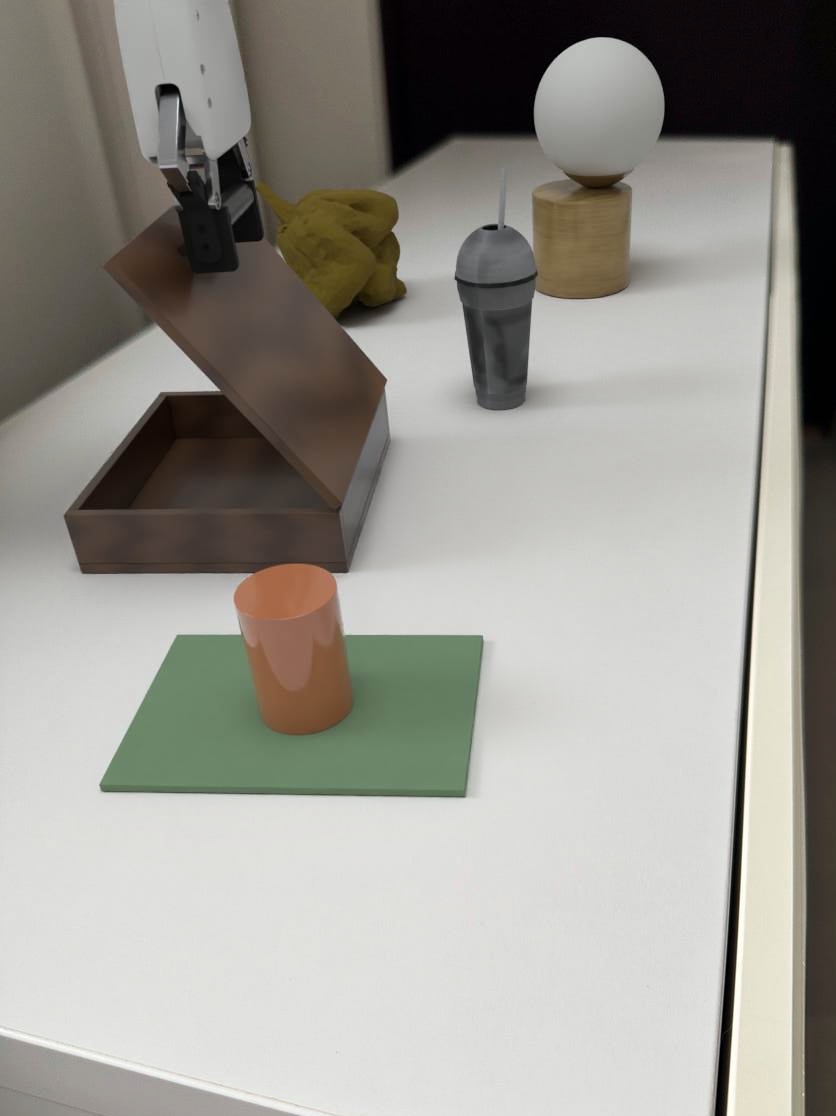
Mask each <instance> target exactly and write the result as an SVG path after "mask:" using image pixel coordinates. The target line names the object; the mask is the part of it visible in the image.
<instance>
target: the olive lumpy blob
mask: <svg viewBox="0 0 836 1116" xmlns="http://www.w3.org/2000/svg"><path fill="white" fill-rule="evenodd" d="M255 188H256V192H258V194H260V196H261V197H262V198H263V199H264V200H265V202H266V203H267V205H268V206H269V208H270V209H271V211H272V212H273V214H274V215H275V216H276V218H277V220H278V221H279V222H280V224H279V225H278V226H276V227H275V228H276V230H277V233H278V234H277V235H276V244H277V246H278V249H279V251H280V253H281V255H282V256H281V257H282V258H283V259H284V261H285V262H286V263H287V264H288V265H289V266H290V268H291V269H292V270H293V271H294V272H295V273H296V274H297V276H298V277H299V278H300V279H301V280H302V281H303V283H304V284H305V285H306V286H307V287H308V288H309V290H310V291H311V292H312V293H313V294H314V295H315V296H316V298H317V299H318V300H319V301H320V302H321V303H322V305H323V306H324V307H325V308H326V309H327V310H328V312H329V313H330V314H331V315H332V316H333V317H334V318H335V320H336V321H337V319H338V318H339V316H340V315H341V313H342V311H343V310H344V309H346V308H348V307H349V306H350V305H351V304H352V301H353V300H354V301H355V302H361V303H362V304H363V305H365V307H373V308H375V307H378V306H381V305H385V304H386V303H390V302H392V301H393V300H396V299H399V298H402V297H404V296H406V294H408V293H407V289H408V288H407V286H406V284H405V282H404V281H402V280H401V279H400V278H398V270H399V269H398V264H399V261H400V258H401V246H400V245H401V244H400V242H399V240H398V238H397V236H396V234H395V231H392V230H393V229H394V227H395V226H396V225H397V223H398V221H399V219H400V218H399V217H400V212H399V205H398V202H397V200H396V199H395V197H394V196H391V195H389V194H387V193H384V192H382V191H380V190H379V191H378V190H376V189H375V190H374V189H369V188H362V189H349V188H341V189H339V188H338V189H330V188H322V189H321V188H320V189H315V190H311V191H308V192H307V193H306V194H305V195H304V196H302V197H300V198H299V199H298V200H297V202H296V203H295V204H294V203H292V202H289V201H287V200H286V199H284V198H282V197H281V196H280V195H278V194H277V193H275V192H274V191H273V190H272V189H271V188H270V187H269V186H267V184H266V183H265V182H264V181H263V180H262V181H261V182H259V183H258V184H257V185H255Z"/></svg>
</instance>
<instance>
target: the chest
mask: <svg viewBox="0 0 836 1116" xmlns="http://www.w3.org/2000/svg"><path fill="white" fill-rule="evenodd" d="M386 393H387V392H386V387H385V388H384V391H383V394H382V397H381V399H380V402H379V405H378V407H377V410H376V413H375V416H374V418H373V421H372V424H371V427H370V429H369V432H368V435H367V438H366V440H365V443H364V446H363V448H362V451H361V454H360V457H359V459H358V462H357V465H356V468H355V470H354V473H353V476H352V479H351V481H350V484H349V487H348V489H347V492H346V495H345V498H344V500H343V503H342V504H341V505H340V506H339V507H337V508H336V509H333V508H332V507H331V506H330V505H329V503H328V502H327V501H326V500H325V499H324V498H323V497H322V496H321V495H320V494H319V493H318V492H317V491H316V490H315V489H314V488H313V487H312V486H311V485H310V484H309V483H308V482H307V481H306V479H305V478H304V477H303V476H302V475H301V474H300V473H299V472H298V471H297V470H296V469H295V468H294V467H293V466H292V465H291V464H290V463H289V462H288V461H287V460H286V459H285V458H284V457H283V455H282V454H281V453H280V452H279V451H278V450H277V449H276V448H275V447H274V446H273V445H272V444H271V443H270V442H269V441H268V440H267V439H266V438H265V437H264V436H263V435H262V434H261V433H260V431H259V430H258V429H257V428H256V427H255V426H254V425H253V424H252V423H251V422H250V421H249V420H248V419H247V418H246V417H245V416H244V415H243V414H242V413H241V412H240V411H239V410H238V409H237V407H236V406H235V405H234V404H233V403H232V402H231V401H230V400H229V399H228V398H227V397H226V396H225V395H224V394H223V393H222V392H221V391H220V390H203V391H202V390H201V391H199V390H198V391H197V390H196V391H192V390H191V391H161V392H159V394H158V395H157V397H156V398H155V399H154V400H153V401H152V403H151V404H150V405H149V407H148V408H147V409H146V410H145V412H144V413H143V414H142V416H141V417H140V418H139V419H138V420H137V422H136V423H135V424H134V425H133V426H132V428H131V429H130V431H129V432H128V433H127V434H126V436H125V437H124V438H123V439H122V441H121V442H120V443H119V444H118V446H117V447H116V448H115V450H114V451H113V452H112V453H111V455H110V456H109V457H108V458H107V459H106V461H104V464H102V466H101V467H100V468H99V470H98V471H97V472H96V474H95V475H94V476H93V477H92V478H91V479H90V481H89V482H88V483H87V485H86V486H85V487H84V489H83V490H82V491H81V492H80V494H78V496H77V497H76V499H75V500H74V501H73V503H71V504H70V506H69V507H68V509H67V510H66V511H65V512H64V514H63V520H64V522H65V526H66V528H67V532H68V534H69V539H70V541H71V544H72V547H73V550H74V553H75V557H76V559H77V560H76V561H77V562H78V566H79V570H80V572H81V574H170V573H171V574H173V573H174V574H183V573H185V574H187V573H190V574H193V573H194V574H196V573H202V574H203V573H204V574H205V573H206V574H207V573H208V574H209V573H211V574H214V573H217V574H218V573H220V574H222V573H224V574H225V573H227V574H228V573H231V574H232V573H257V572H259V571H261V570H264V569H266V568H270V567H273V566H278V565H283V564H309V565H314V566H318V567H320V568H323V569H325V570H327V571H328V572H330V573H348V572H349V569H350V566H351V564H352V560H353V557H354V554H355V551H356V548H357V545H358V542H359V539H360V535H361V532H362V530H363V526H364V524H365V519H366V517H367V514H368V510H369V507H370V504H371V501H372V498H373V495H374V493H375V489H376V486H377V482H378V479H379V477H380V473H381V471H382V467H383V464H384V461H385V459H386V454H387V451H388V449H389V445H390V443H391V432H390V431H391V430H390V422H389V421H390V420H389V411H388V404H387V402H388V401H387V394H386Z"/></svg>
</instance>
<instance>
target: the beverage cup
mask: <svg viewBox="0 0 836 1116" xmlns="http://www.w3.org/2000/svg"><path fill="white" fill-rule="evenodd" d="M508 169H509V167H507V166H501V173H500V174H501V175H500V186H499V188H500V189H499V190H500V191H499V205H498V220H497V223H487V224H485V225H481V226H480V227H478V228H476V229H475V230H473V231H472V232H471V233H470V234H469V235H468V236H467V237H466V238H465V239H464V240H463V242H462V244H461V246H460V247H459V250H458V253H457V256H456V263H455V270H454V281H456V288H457V293H458V297H459V300H460V301H459V302H461V305H462V312H463V318H464V320H463V321H464V327H465V333H466V339H467V347H468V355H469V361H470V368H471V374H472V376H471V377H472V382H473V388H474V391H475V396H476V403H477V404H478V406H480V407H482V408H484V409H488V410H493V411H494V410H495V411H501V410H502V411H503V410H504V411H505V410H511V409H515V408H518V407H519V406H521V405H523V404H524V403H525V401H526V393H527V392H526V391H527V385H528V376H529V375H528V374H529V373H528V372H529V357H530V343H531V342H530V341H531V327H532V326H531V325H532V309H533V299H534V298H535V291H536V288H535V286H536V277H537V276H538V272H537V268H536V265H535V258H534V254H533V248H532V246H531V245H530V243H529V241H528V240H527V238H526V237H525V236H524V235H523V234H522V233H521V232H519V231H518V230H517V229H515V228H514V227H513V226H510V225H506V224H505V215H506V200H507V184H508Z"/></svg>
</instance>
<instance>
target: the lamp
mask: <svg viewBox="0 0 836 1116" xmlns="http://www.w3.org/2000/svg"><path fill="white" fill-rule="evenodd" d="M663 89H664V88H663V86H662V81H661V79H660V76H659V74H658V72H657V70H656V69H655V67H654V65H653V63H652V62H651V61H650V60H649V59H648V57H647V56H646V55H645V54H644V53H643V52H642V51H641V50H639V49H638V48H637V47H635V46H634V45H632V44H631V43H629V42H626V41H623V40H621V39H618V38H613V37H601V36H600V37H591V38H587V39H584V40H581V41H578V42H576V43H574V44H572V45H571V46H569V47H567V48H566V49H565V50H564V51H562V52H561V53H560V54H559V55H557V57H555V58H554V59H553V61H552V62H551V63H550V64H549V65H548V67H547V69H546V71H545V72H544V74H543V76H542V78H541V80H540V82H539V84H538V87H537V89H536V94H535V98H534V99H535V100H534V106H533V121H534V128H535V129H534V130H535V133H536V137H537V140H538V142H539V145H540V147H541V149H542V151H543V152H544V154H545V156H546V157H547V159H548V160H549V161H550V162H551V163H552V165H553V166H555V167H556V168H557V169H559V170H560V171H561V172H563V174H564V175H565V176H566V177H568V178H567V179H560V180H554V181H550V182H549V181H548V182H546V183H542V184H540V185H538V186H536V187H535V188H533V189H532V191H531V211H532V213H531V216H532V217H531V218H532V220H531V221H532V251H533V254H534V258H535V265H536V268H537V272H538V276H537V277H536V286H535V290H537V291H538V292H540V293H541V294H544V295H547V296H551V297H557V298H561V299H562V298H563V299H592V298H593V299H594V298H600V297H601V298H602V297H605V296H610V295H613V294H616V293H619V292H621V291H623V290H625V289H626V288H627V287H628V285H629V284H630V270H631V269H630V268H631V267H630V265H631V242H632V241H631V239H632V238H631V237H632V211H633V210H632V208H633V188H632V186H631V185H630V184H628V183H626V182H623V180H624V179H625V178H627V177H628V176H629V175H630V174H632V173H633V171H634V170H635V168H638V166H639V165H641V164H642V163H643V162H644V161H645V160H646V159H647V158H648V156H649V155H650V154H651V152H652V151H653V149H654V147H655V145H656V143H657V141H658V140H659V137H660V134H661V132H662V127H663V123H664V118H665V95H664V90H663Z"/></svg>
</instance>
